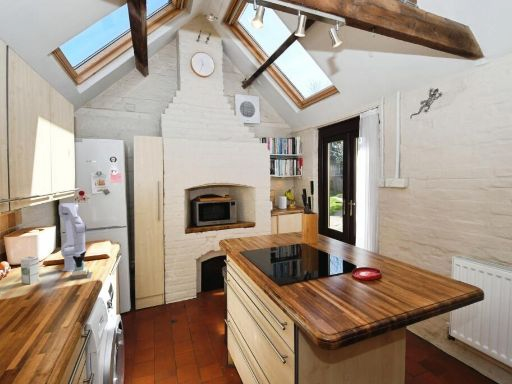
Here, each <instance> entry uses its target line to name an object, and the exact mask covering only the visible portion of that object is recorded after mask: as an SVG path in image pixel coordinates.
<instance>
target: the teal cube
mask: <svg viewBox="0 0 512 384" xmlns="http://www.w3.org/2000/svg"><path fill="white" fill-rule="evenodd" d="M74 267H75V271H80V270H84V267H85V260H84V261H82V266H81V267H78V268H77V266H76V263H75V264H74Z"/></svg>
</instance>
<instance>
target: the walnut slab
mask: <svg viewBox="0 0 512 384" xmlns="http://www.w3.org/2000/svg"><path fill="white" fill-rule="evenodd" d="M89 272H90V270H89V269H88V271H87V273H86V274H82V275H74V276H72V274H70V275H71V280H74V279H81V278H87V277H88V274H89Z"/></svg>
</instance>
